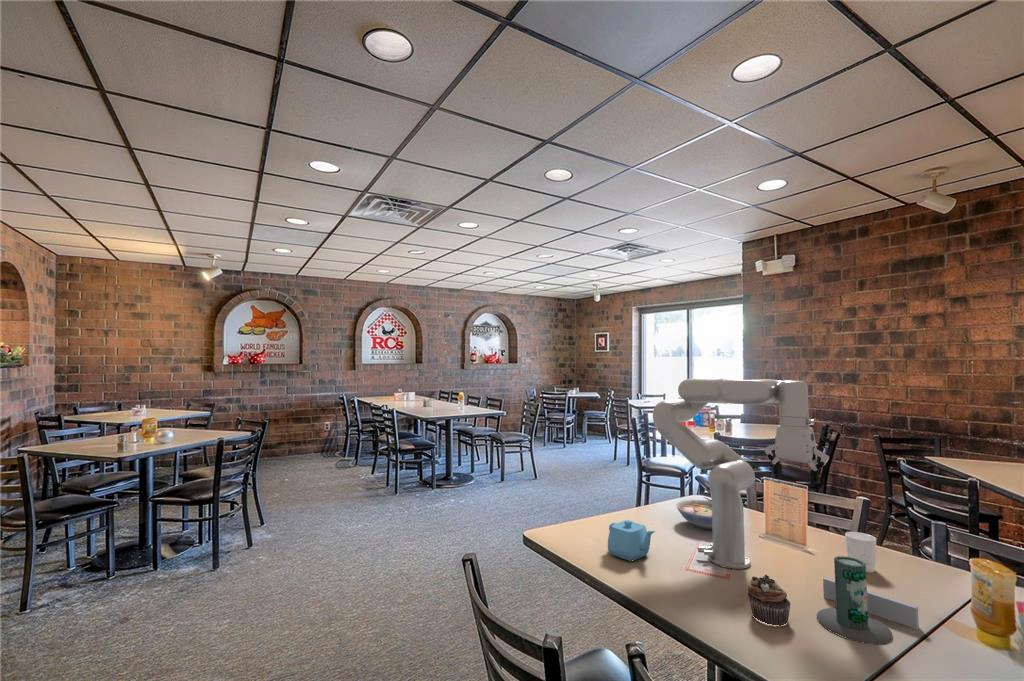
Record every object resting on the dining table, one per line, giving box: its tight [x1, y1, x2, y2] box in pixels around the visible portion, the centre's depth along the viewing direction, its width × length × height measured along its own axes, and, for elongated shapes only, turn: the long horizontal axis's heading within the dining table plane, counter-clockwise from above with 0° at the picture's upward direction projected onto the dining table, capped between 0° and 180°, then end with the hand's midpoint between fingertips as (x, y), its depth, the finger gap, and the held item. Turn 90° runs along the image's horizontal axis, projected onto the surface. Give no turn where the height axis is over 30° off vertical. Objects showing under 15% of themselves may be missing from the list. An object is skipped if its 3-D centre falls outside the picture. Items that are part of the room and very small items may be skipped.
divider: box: [822, 577, 920, 630], centre depth 122 cm, size 2×20×5 cm, turn 37°
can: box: [833, 555, 869, 631], centre depth 116 cm, size 6×6×15 cm
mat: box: [816, 607, 893, 645], centre depth 115 cm, size 15×15×1 cm
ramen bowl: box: [675, 497, 712, 530], centre depth 187 cm, size 25×23×8 cm
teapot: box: [607, 519, 656, 562], centre depth 158 cm, size 12×18×12 cm
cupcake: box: [747, 574, 792, 626], centre depth 119 cm, size 10×10×10 cm
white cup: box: [844, 531, 877, 574], centre depth 148 cm, size 8×8×10 cm
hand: (796, 480), depth 138 cm, fingers open, 9 cm apart
